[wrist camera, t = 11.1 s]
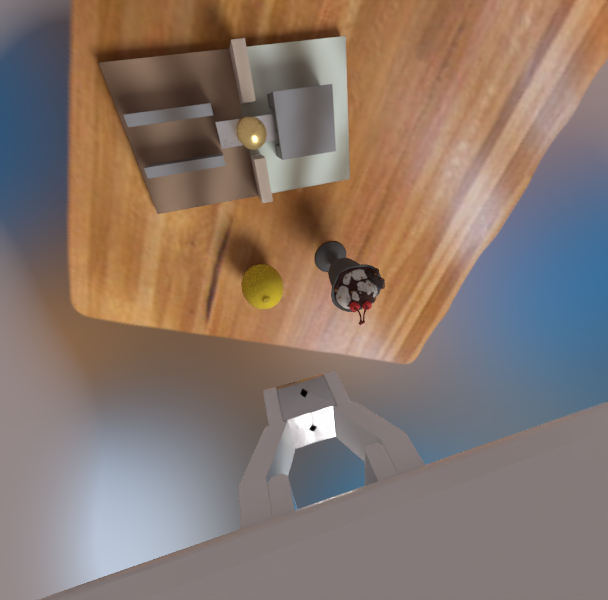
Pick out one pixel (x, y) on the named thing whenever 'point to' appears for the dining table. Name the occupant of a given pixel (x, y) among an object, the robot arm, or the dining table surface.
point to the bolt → (247, 131)
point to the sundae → (349, 279)
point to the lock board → (234, 105)
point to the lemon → (262, 286)
